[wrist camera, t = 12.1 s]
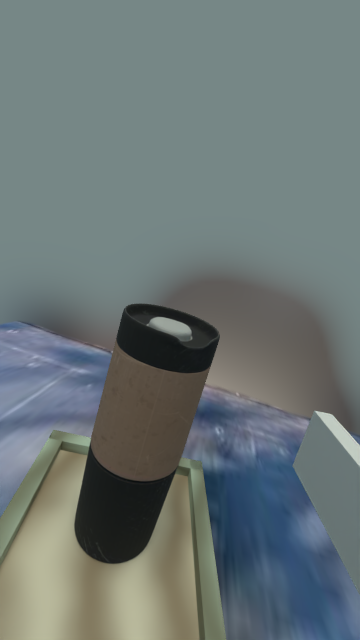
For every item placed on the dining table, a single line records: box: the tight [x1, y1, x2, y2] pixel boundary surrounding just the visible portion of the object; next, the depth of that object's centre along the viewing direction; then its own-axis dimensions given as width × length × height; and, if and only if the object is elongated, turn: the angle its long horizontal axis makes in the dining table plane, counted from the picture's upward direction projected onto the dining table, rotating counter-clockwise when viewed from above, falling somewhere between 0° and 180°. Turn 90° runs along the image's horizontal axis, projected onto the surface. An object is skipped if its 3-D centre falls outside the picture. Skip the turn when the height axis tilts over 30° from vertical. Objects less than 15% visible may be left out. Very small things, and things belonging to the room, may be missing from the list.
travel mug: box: [74, 304, 220, 564], centre depth 25 cm, size 8×8×20 cm
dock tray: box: [0, 430, 226, 640], centre depth 28 cm, size 18×18×3 cm
